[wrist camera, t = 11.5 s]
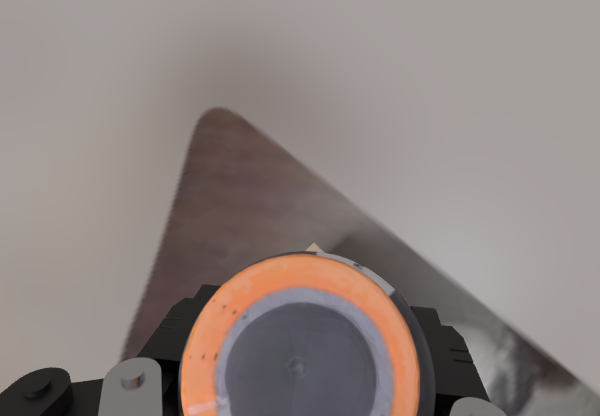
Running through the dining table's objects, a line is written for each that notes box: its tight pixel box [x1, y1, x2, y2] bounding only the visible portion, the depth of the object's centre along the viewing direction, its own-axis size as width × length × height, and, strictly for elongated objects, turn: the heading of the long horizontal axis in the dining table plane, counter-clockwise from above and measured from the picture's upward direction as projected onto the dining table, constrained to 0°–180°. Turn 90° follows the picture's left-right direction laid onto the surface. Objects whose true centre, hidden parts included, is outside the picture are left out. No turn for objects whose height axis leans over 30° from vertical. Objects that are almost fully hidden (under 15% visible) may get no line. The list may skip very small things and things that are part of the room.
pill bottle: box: [178, 251, 436, 416], centre depth 11 cm, size 6×6×11 cm
